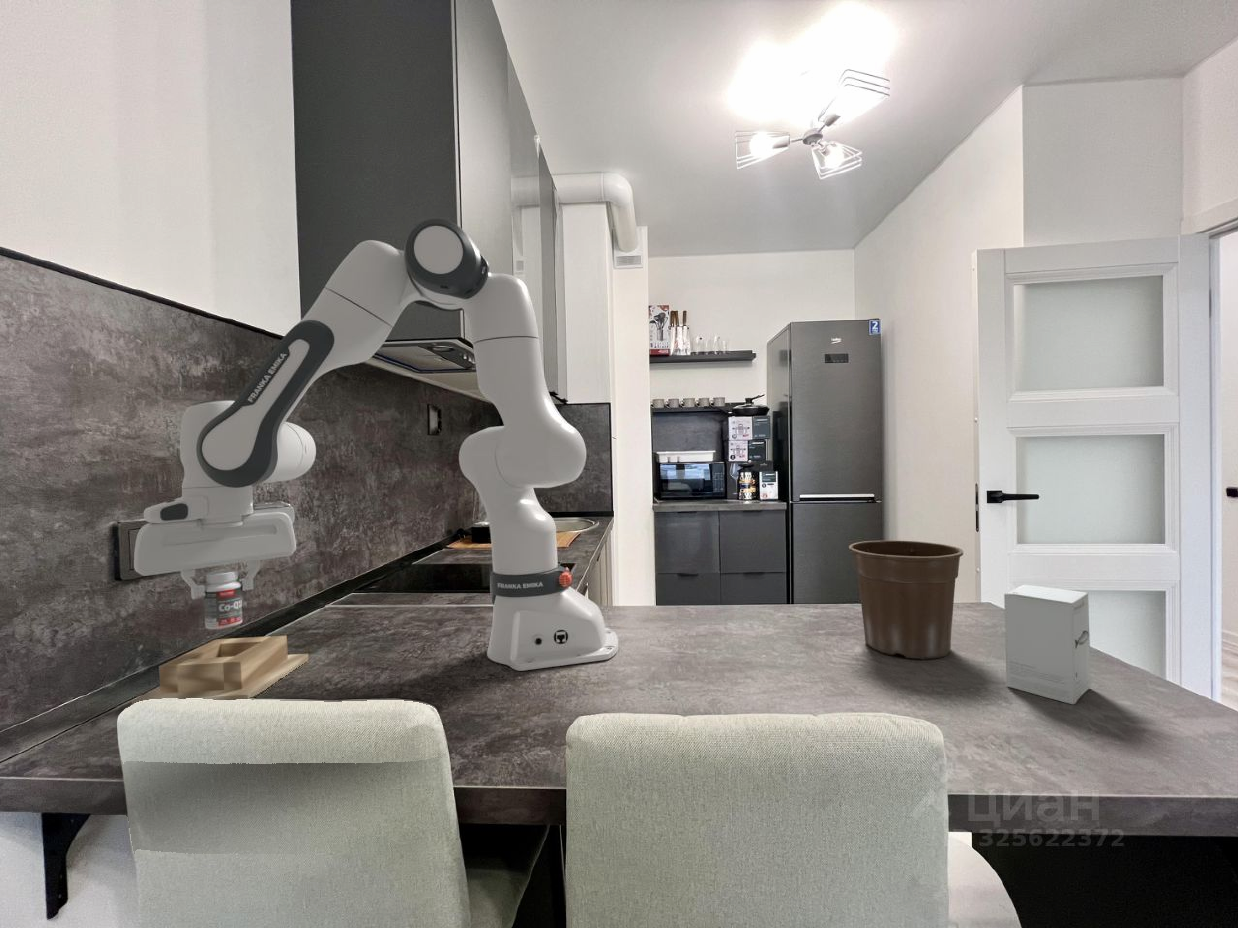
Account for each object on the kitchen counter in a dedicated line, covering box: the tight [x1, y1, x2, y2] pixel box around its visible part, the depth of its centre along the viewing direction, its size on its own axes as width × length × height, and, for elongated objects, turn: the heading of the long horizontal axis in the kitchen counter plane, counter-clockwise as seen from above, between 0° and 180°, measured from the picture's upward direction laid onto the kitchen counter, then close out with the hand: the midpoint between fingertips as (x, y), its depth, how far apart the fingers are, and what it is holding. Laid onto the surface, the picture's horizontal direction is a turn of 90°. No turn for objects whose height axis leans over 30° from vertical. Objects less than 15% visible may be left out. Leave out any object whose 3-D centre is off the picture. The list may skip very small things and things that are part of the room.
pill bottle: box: [203, 568, 244, 630], centre depth 84 cm, size 5×5×8 cm
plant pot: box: [848, 540, 964, 660], centre depth 87 cm, size 16×16×16 cm
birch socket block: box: [131, 635, 309, 705], centre depth 84 cm, size 16×16×5 cm
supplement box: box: [1003, 584, 1092, 705], centre depth 70 cm, size 7×7×13 cm
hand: (223, 593), depth 84 cm, fingers closed on pill bottle, 5 cm apart
